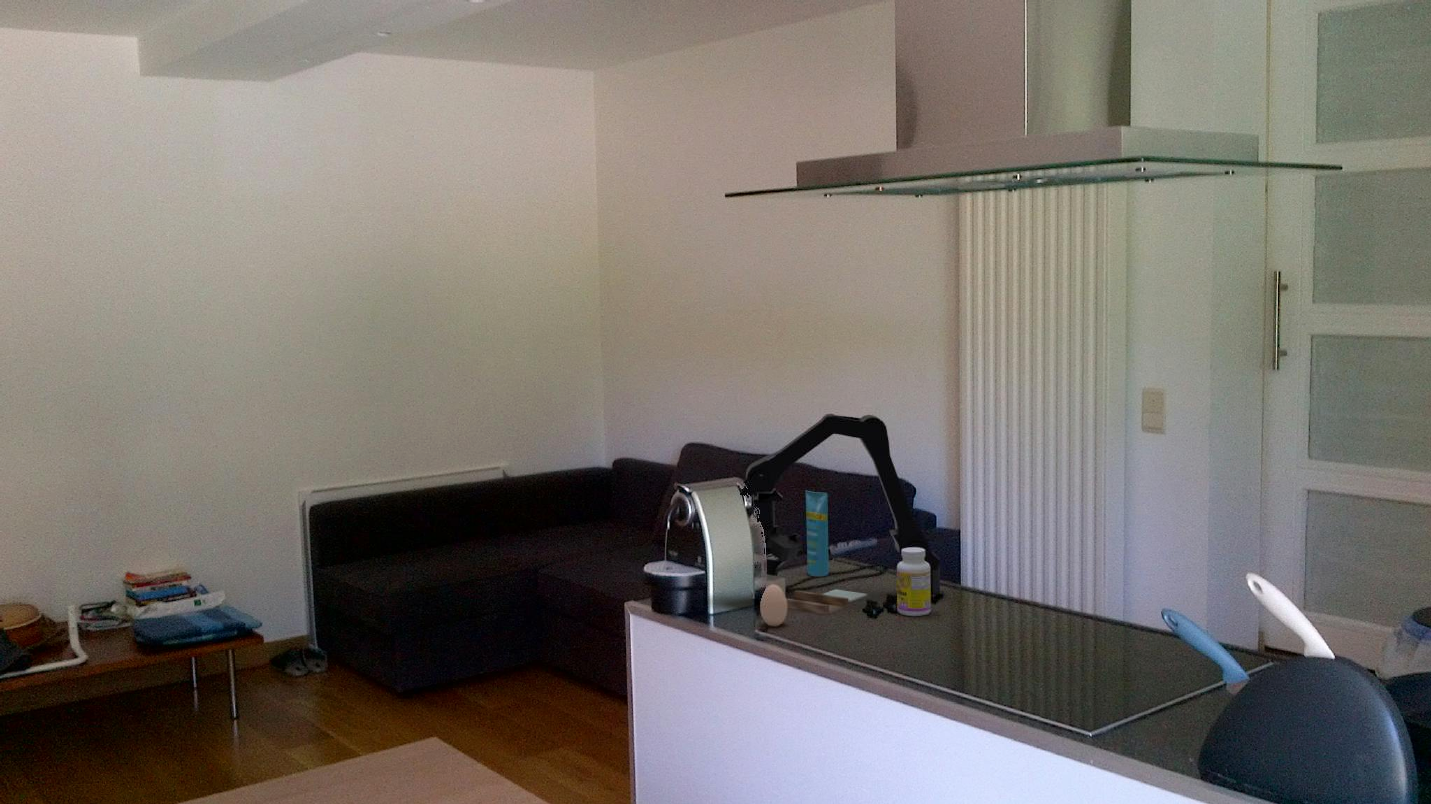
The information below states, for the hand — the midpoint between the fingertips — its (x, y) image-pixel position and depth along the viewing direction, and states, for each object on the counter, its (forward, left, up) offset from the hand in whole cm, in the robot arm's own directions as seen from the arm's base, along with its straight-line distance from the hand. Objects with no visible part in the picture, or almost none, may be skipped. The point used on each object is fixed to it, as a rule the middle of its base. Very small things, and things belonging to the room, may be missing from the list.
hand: (762, 594), depth 267 cm
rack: (-12, 0, -1) cm, 12 cm away
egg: (-15, +16, -1) cm, 22 cm away
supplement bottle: (-32, -8, -1) cm, 33 cm away
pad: (-13, -10, -1) cm, 16 cm away
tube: (+4, -26, -1) cm, 26 cm away
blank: (-2, 0, -1) cm, 2 cm away
